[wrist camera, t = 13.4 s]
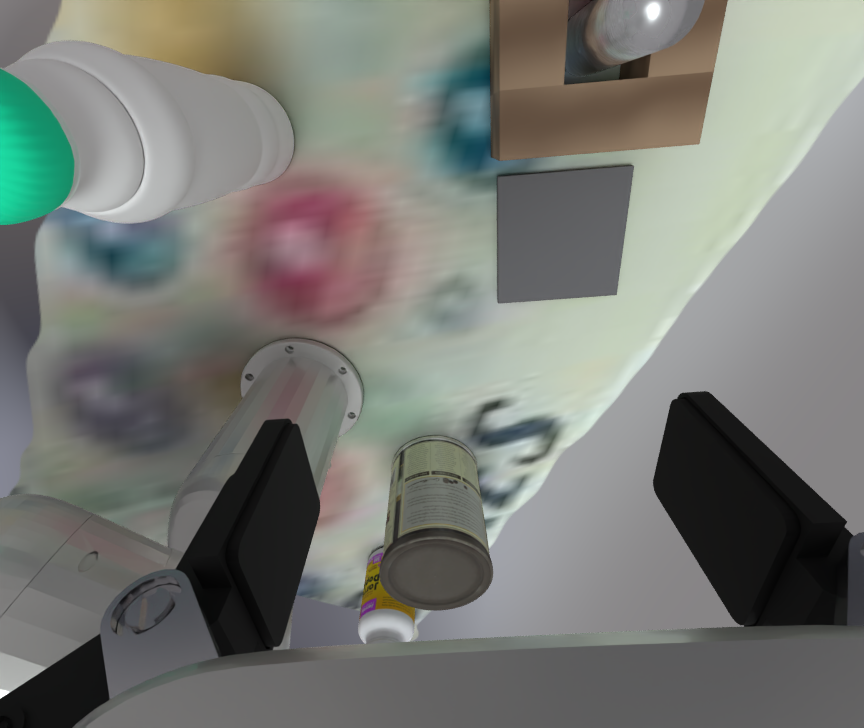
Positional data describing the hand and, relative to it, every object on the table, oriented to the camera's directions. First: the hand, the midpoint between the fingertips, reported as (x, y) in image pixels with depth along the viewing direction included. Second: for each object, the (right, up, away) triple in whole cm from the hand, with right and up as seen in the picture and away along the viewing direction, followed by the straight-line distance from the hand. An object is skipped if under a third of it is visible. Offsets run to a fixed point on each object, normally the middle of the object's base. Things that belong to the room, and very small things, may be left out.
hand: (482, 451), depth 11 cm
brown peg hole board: (+10, +26, +21) cm, 34 cm away
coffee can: (-1, -10, +40) cm, 42 cm away
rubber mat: (+10, +13, +27) cm, 32 cm away
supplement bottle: (-7, -25, +48) cm, 54 cm away
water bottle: (-16, +21, +24) cm, 35 cm away
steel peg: (+10, +26, +21) cm, 34 cm away
